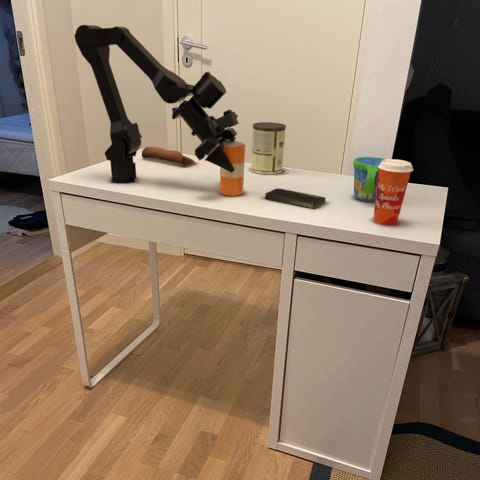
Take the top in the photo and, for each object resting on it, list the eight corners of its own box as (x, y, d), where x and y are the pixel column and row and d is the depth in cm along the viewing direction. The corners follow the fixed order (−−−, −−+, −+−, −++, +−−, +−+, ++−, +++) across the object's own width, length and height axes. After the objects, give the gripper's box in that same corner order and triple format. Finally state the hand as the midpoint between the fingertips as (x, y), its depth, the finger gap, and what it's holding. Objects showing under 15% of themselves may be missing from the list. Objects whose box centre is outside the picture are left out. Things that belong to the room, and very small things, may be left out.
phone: (277, 188, 136) (327, 197, 129) (276, 192, 137) (326, 201, 130) (263, 194, 130) (315, 204, 124) (263, 198, 131) (314, 208, 124)
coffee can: (253, 166, 163) (255, 121, 156) (283, 168, 162) (287, 123, 155) (248, 173, 155) (250, 126, 148) (280, 175, 153) (284, 128, 146)
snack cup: (383, 209, 127) (390, 169, 121) (343, 203, 130) (348, 164, 125) (390, 194, 139) (397, 157, 134) (353, 189, 142) (359, 153, 137)
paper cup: (366, 223, 116) (377, 163, 109) (371, 214, 122) (381, 157, 115) (400, 228, 114) (413, 167, 107) (403, 219, 120) (415, 161, 113)
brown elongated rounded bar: (198, 161, 163) (191, 145, 158) (187, 175, 161) (180, 159, 155) (157, 154, 172) (150, 138, 166) (146, 167, 169) (138, 151, 164)
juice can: (221, 195, 131) (222, 145, 124) (218, 189, 137) (219, 140, 130) (244, 195, 132) (247, 145, 125) (241, 189, 138) (243, 141, 131)
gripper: (206, 103, 116) (248, 155, 119) (231, 95, 131) (267, 142, 134) (177, 134, 121) (217, 184, 125) (203, 124, 137) (239, 168, 140)
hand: (237, 168), depth 131 cm, fingers closed on juice can, 6 cm apart
